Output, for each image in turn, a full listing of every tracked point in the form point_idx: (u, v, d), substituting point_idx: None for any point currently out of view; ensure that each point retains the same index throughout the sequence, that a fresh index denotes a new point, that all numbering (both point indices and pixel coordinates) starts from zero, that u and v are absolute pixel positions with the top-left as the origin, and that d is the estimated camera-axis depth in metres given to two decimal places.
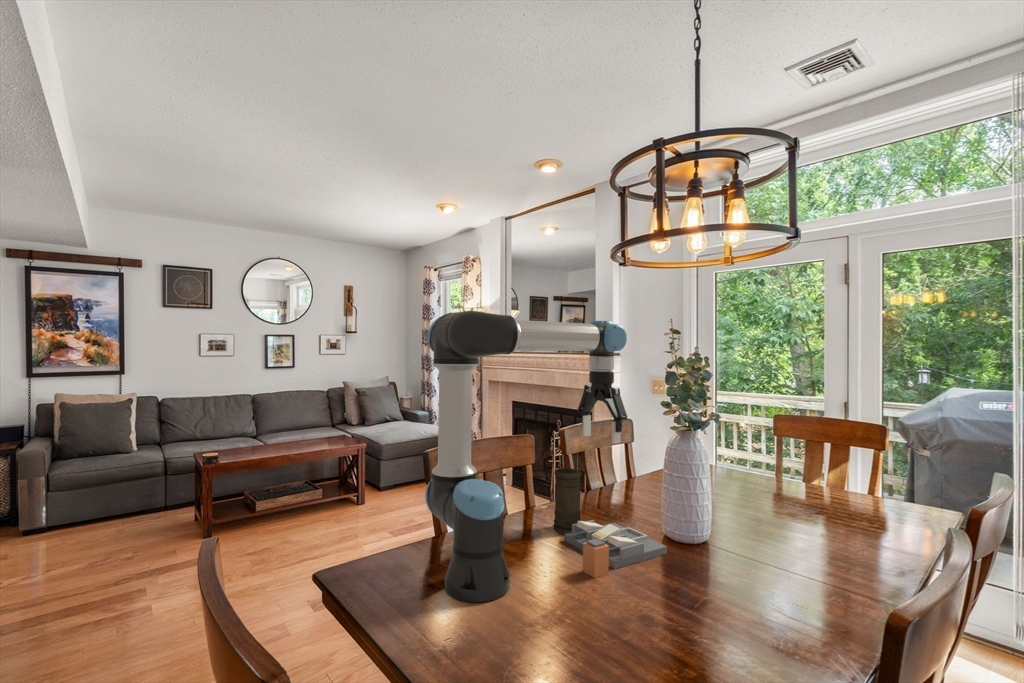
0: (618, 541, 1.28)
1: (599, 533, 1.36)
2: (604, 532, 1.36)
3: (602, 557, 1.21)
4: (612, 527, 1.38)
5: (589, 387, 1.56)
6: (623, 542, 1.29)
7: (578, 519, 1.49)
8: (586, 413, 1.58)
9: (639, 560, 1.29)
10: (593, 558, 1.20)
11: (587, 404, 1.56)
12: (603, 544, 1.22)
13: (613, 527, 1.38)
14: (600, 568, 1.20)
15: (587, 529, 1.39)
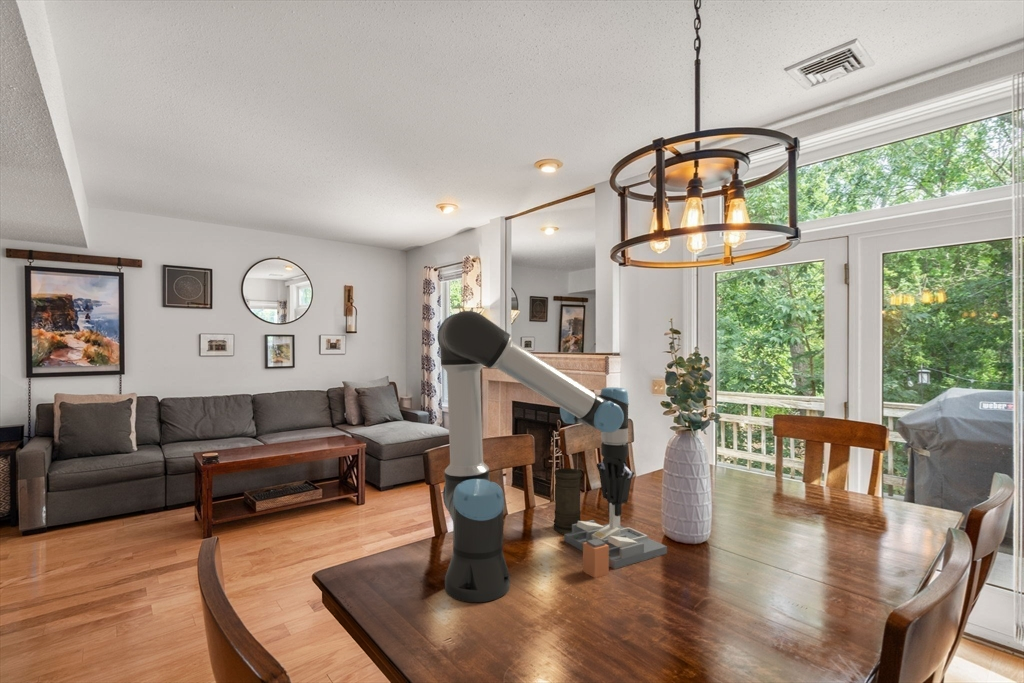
0: (618, 541, 1.28)
1: (599, 533, 1.36)
2: (604, 532, 1.36)
3: (602, 557, 1.21)
4: (612, 528, 1.38)
5: (602, 463, 1.43)
6: (623, 542, 1.29)
7: (578, 519, 1.49)
8: (613, 500, 1.39)
9: (639, 560, 1.29)
10: (593, 558, 1.20)
11: (608, 485, 1.39)
12: (603, 544, 1.22)
13: None
14: (600, 568, 1.20)
15: (587, 529, 1.39)
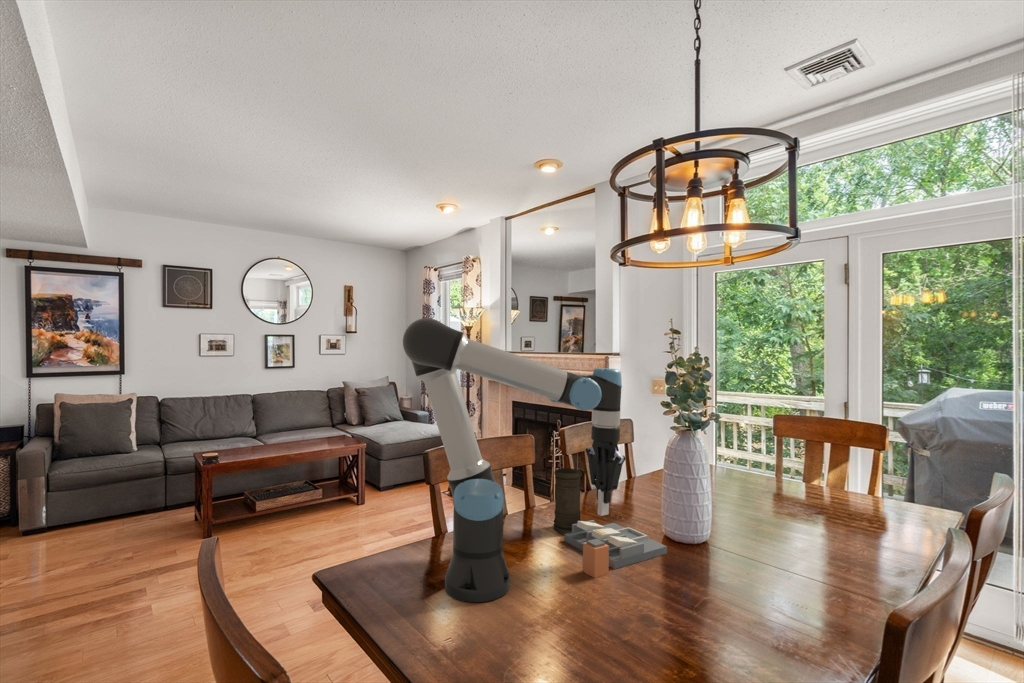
0: (618, 541, 1.28)
1: (600, 530, 1.36)
2: (605, 531, 1.37)
3: (602, 557, 1.21)
4: (613, 530, 1.38)
5: (591, 448, 1.35)
6: (623, 542, 1.29)
7: (578, 519, 1.49)
8: (602, 486, 1.32)
9: (639, 560, 1.29)
10: (593, 558, 1.20)
11: (597, 471, 1.32)
12: (603, 544, 1.22)
13: (614, 530, 1.38)
14: (600, 568, 1.20)
15: (587, 529, 1.39)
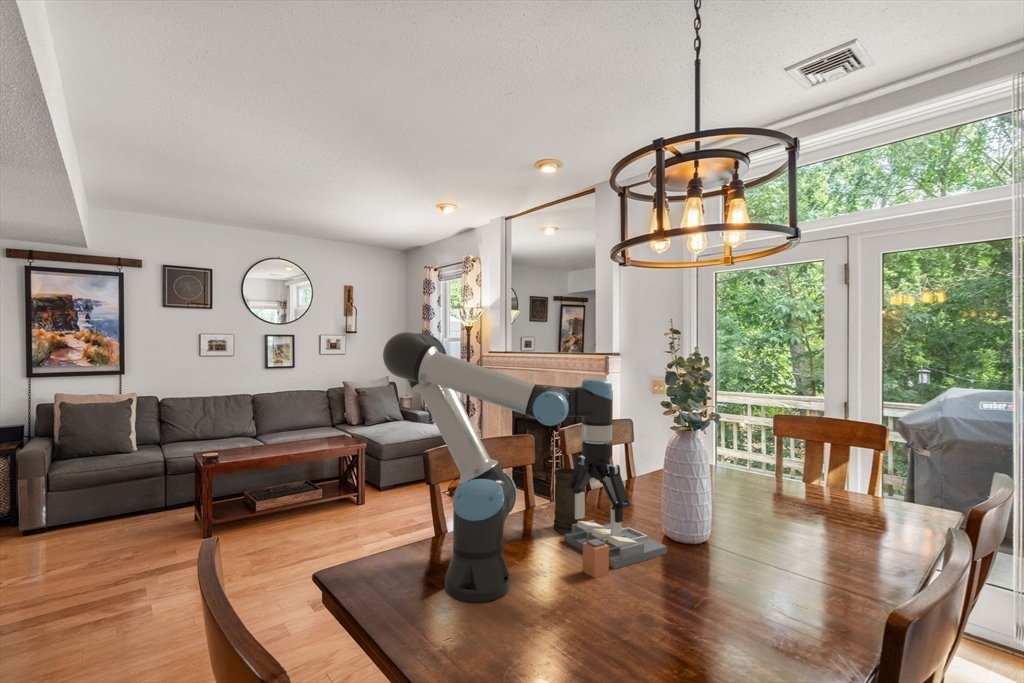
0: (618, 541, 1.28)
1: (600, 530, 1.36)
2: (605, 531, 1.37)
3: (602, 557, 1.21)
4: None
5: (582, 459, 1.27)
6: (623, 542, 1.29)
7: (578, 519, 1.49)
8: (579, 490, 1.29)
9: (639, 560, 1.29)
10: (593, 558, 1.20)
11: (580, 480, 1.27)
12: (603, 544, 1.22)
13: None
14: (600, 568, 1.20)
15: (587, 529, 1.39)
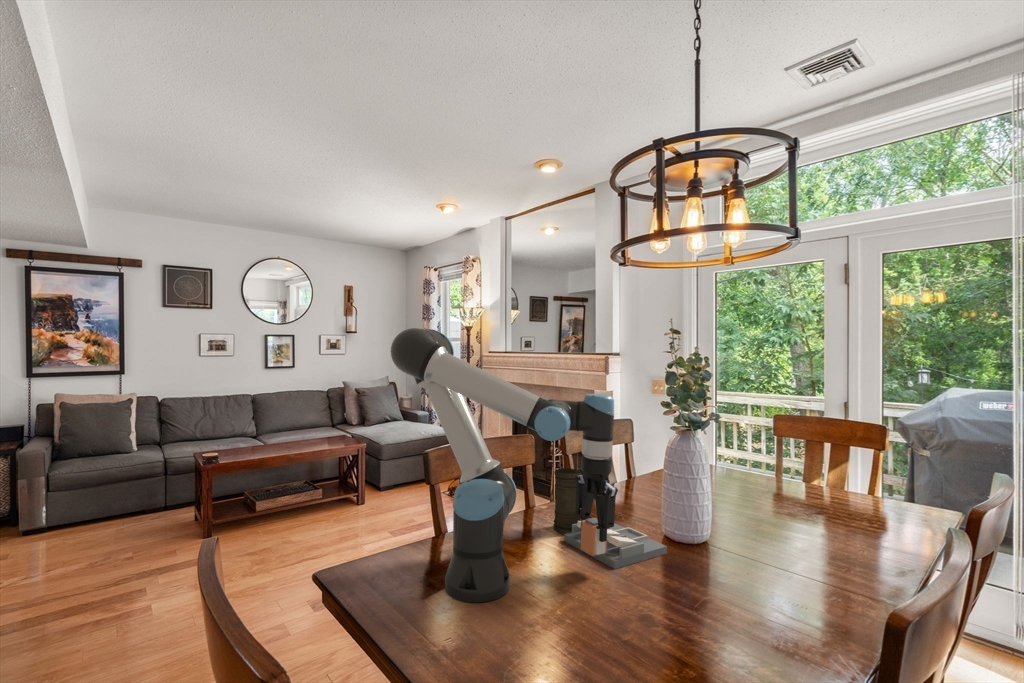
0: (618, 541, 1.28)
1: None
2: None
3: None
4: (613, 531, 1.38)
5: (581, 477, 1.27)
6: (623, 542, 1.29)
7: (578, 519, 1.49)
8: (586, 517, 1.25)
9: (639, 560, 1.29)
10: (591, 536, 1.20)
11: (584, 502, 1.25)
12: None
13: (614, 531, 1.38)
14: None
15: None
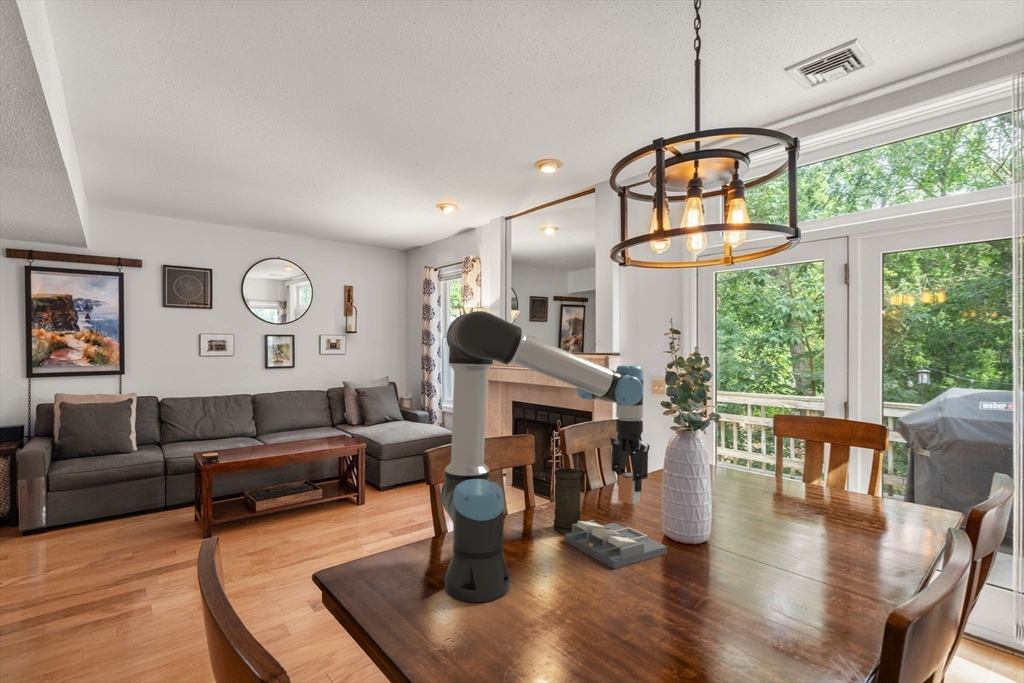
0: (618, 541, 1.28)
1: (600, 529, 1.36)
2: (605, 531, 1.37)
3: None
4: (613, 531, 1.38)
5: (616, 439, 1.46)
6: (623, 542, 1.29)
7: (578, 519, 1.49)
8: (622, 472, 1.44)
9: (639, 560, 1.29)
10: (628, 487, 1.39)
11: (619, 460, 1.43)
12: None
13: (614, 531, 1.38)
14: None
15: (587, 529, 1.39)
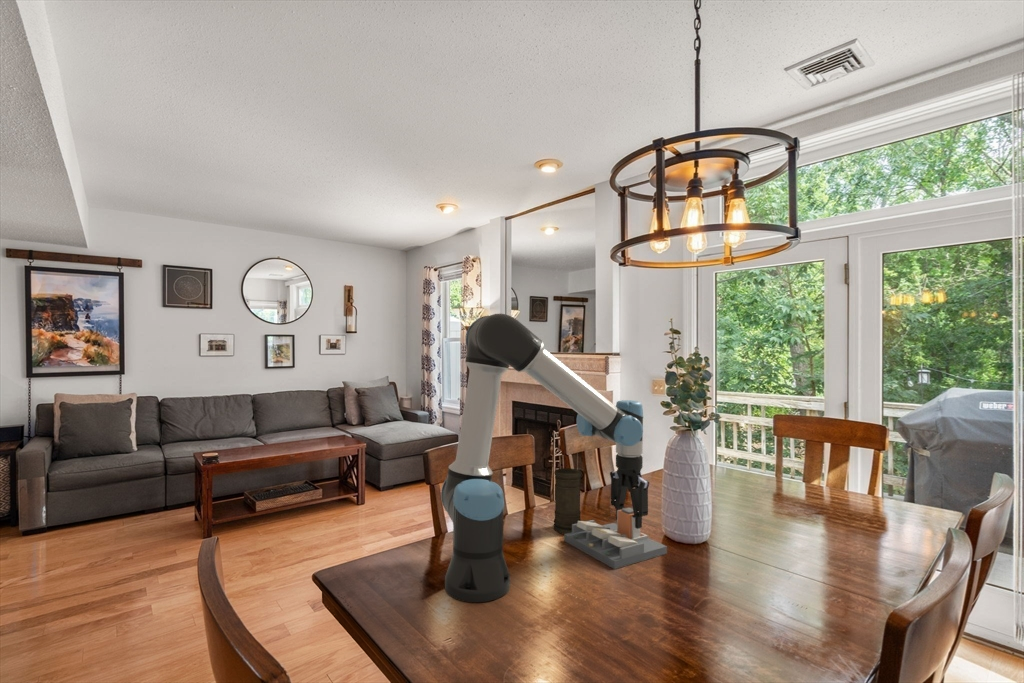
0: (618, 541, 1.28)
1: (600, 529, 1.36)
2: (605, 531, 1.37)
3: None
4: (613, 531, 1.38)
5: (615, 473, 1.46)
6: (623, 542, 1.29)
7: (578, 519, 1.49)
8: (621, 507, 1.44)
9: (639, 560, 1.29)
10: (628, 523, 1.39)
11: (618, 494, 1.43)
12: None
13: (614, 531, 1.38)
14: None
15: (587, 529, 1.39)
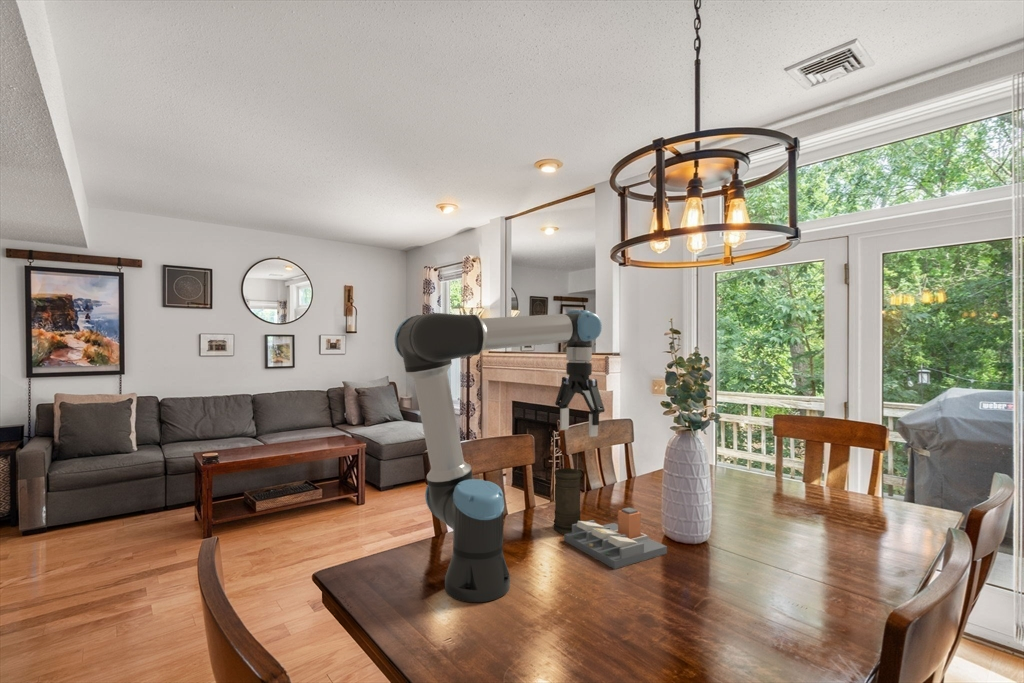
0: (618, 541, 1.28)
1: (600, 529, 1.36)
2: (605, 531, 1.37)
3: (635, 522, 1.40)
4: (613, 531, 1.38)
5: (567, 379, 1.51)
6: (623, 542, 1.29)
7: (578, 519, 1.49)
8: (564, 406, 1.53)
9: (639, 560, 1.29)
10: (628, 523, 1.39)
11: (565, 397, 1.51)
12: (636, 511, 1.41)
13: (614, 531, 1.38)
14: (633, 532, 1.39)
15: (587, 529, 1.39)
